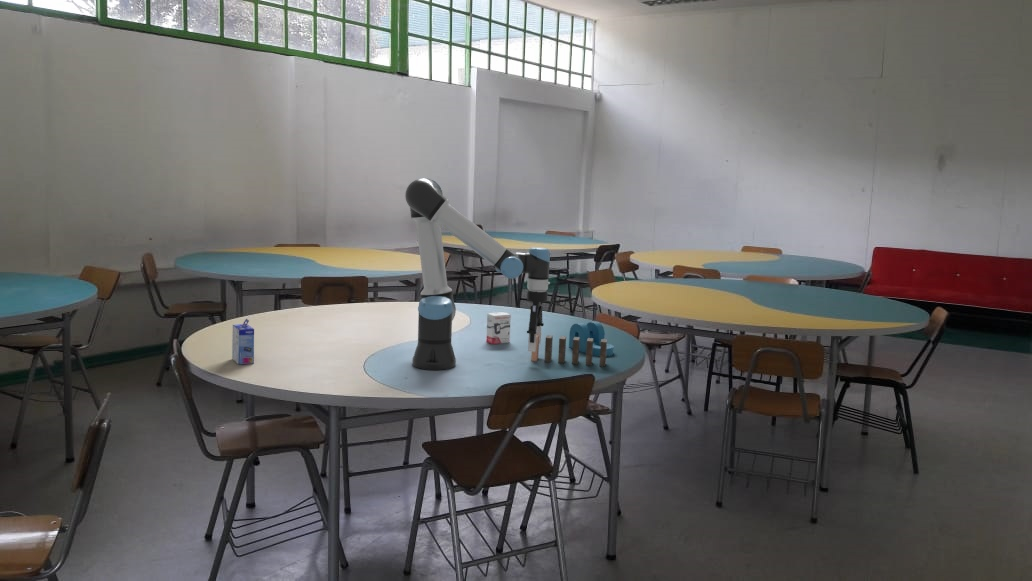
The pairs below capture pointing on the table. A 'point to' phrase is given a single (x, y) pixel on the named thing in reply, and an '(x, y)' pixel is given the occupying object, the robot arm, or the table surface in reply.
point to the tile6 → (603, 352)
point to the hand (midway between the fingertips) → (534, 347)
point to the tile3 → (562, 349)
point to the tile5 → (589, 351)
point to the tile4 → (575, 350)
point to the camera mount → (589, 331)
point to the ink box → (498, 327)
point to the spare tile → (535, 354)
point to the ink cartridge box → (243, 343)
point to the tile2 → (548, 348)
